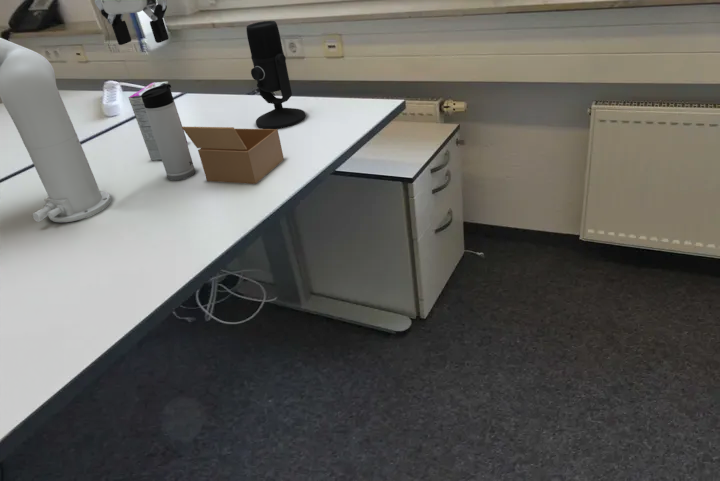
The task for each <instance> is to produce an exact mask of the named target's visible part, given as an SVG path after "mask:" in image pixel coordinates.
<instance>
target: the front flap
mask: <svg viewBox="0 0 720 481" xmlns="http://www.w3.org/2000/svg"><path fill="white" fill-rule="evenodd" d="M182 128H183V130H184V133H185V135H186V136H187V137H188V138H189V139H190V141H191V142H192V144H193V145H194V146H195V147H196V149H201V148H211V149H242V150H247V148H246V146H245V145H244V143H243V141H242V140H241V138H240V137H239V135H238V134H237V132H236V130H235V129H236V128H235V127H234V126H233V127H231V126H230V127H229V126H182Z"/></svg>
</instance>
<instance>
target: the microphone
mask: <svg viewBox="0 0 720 481" xmlns="http://www.w3.org/2000/svg"><path fill="white" fill-rule="evenodd" d="M245 29H246V37H247V42H248V46H249V50H250V56H251V57H250V58H251V61H252V65H253V68H251V70H250V75H251V77H252V79H253V80H254V81H256V87H257V88H258V92H259V95H260V97H261V98H262V99H263V100H264V101H265V102H266V103H268V104H270V105H271V104H272V105H273V106H274V109H272V110H269V111H267V112H265V113H263V114H261V115H260V116H258V117H257V118H256V119H255V125H256V127H257V128H258V129H278V130H280V129H281V130H282V129H286V128H290V127H293V126H296V125H298V124H300V123H302V122H303V121H305V119H306V117H307V115H306V111H305V110H303V109H301V108H292V107H283V104H284V103H286V102H288V100H290V98H291V97H292V96H293V92H292V87H291V82H290V76H289V72H288V67H287V61H286V60H287V58H286V55H285V53H284V50H283V44H282V40H281V34H280V31H279V26H278V23H277V21H276V20H264V21H257V22H253V23H251V24H248V25H246V28H245ZM275 92H280V93H281V98H280V97H276V96H275V95H274V94H273V93H275Z"/></svg>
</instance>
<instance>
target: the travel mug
mask: <svg viewBox="0 0 720 481" xmlns="http://www.w3.org/2000/svg"><path fill="white" fill-rule="evenodd" d="M171 88H172V85H171V84H169V83H168V84H163V85H162V86H157V87H154V88H151V89H149V90H147V91H145V92H144V93H143V94H142V95H141V97H142V100H143V103H144V108H145V110H146V114H147V117H148V120H149V123H150V126H151V129H152V132H153V135H154V138H155V141H156V144H157V147H158V150H159V153H160V156H161V159H162V160H161V161H162V165H163V167H164V170H165V174H166V176H167V179H168V180H170V181H183V180H187V179H188V178H190V177H192V176H193V175H195V173H196V168H195V165H194V162H193V158H192V155H191V151H190V148H189V146H188V143H187V142H188V141H187V142H186V139H187V137H186V138H185V136H186V134H185V135H184V133H185V131H184V132H183V128H182V127H183V124H182V121H181V118H180V115H179V112H178V108H177V106H176V102H175V99H174V97H172V96H173V93H172V90H171ZM173 99H174V100H173ZM176 108H177V109H176ZM179 118H180V119H179ZM180 121H181V122H180ZM181 124H182V125H181Z"/></svg>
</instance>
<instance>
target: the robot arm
mask: <svg viewBox="0 0 720 481" xmlns="http://www.w3.org/2000/svg"><path fill="white" fill-rule="evenodd" d="M167 1H168V0H94V5H95V6H96V7H97V9H98V10H99V11H100V13H101V15H102V17H104V18H105V19H106V20H107V23H108V24H109V25H111V27H112V30H113V34H114V37H115V39H116V42H117V44H118V45H119V46H122V45H125V44H128V43H131V42H132V37H131V34H130V31H129V28H128V25H127V22H126V20H123V18H124V15H125V14H134V13H135V14H136V13H140V12H142V11H143V13H144V14H146V16H147V17H148V18H149V19H150V20H151V21H149V25H150V28H151V31H152V35H153V38H154V42H155V43H157V44H160V43H163V42H165V41H168V40H169V34H168V31H167V28H166V24H165V22H164V18H166V11H167V10H168V5H167V3H168V2H167ZM0 100H1V102H2V105H3V106H4V107H5V110H6V111H7V113H8V115H9V117H10V118H11V120H12V122H13V124H14V126H15V128H16V130H17V132H18V134H19V136H20V139H21V141H22V143H23V145H24V147H25V149H26V150H27V153H28V155H29V157H30V160H31V162H32V164H33V166H34V169H35V170H36V172H37V175H38V177H39V179H40V181H41V184H42V186H43V188H44V190H45V192H46V195H47V197H46V198H44V202H45V204H44V205H43V207H42V208H40V209H37V210H36V211H35V212H32V213H31V216H32V218H33V220H35V222H41V221H42V220H44V219H46V218H47V217H48V219H49V220H50V221H52V222H54V223H71V222H77V221H80V220H84V219H86V218H90V217H91V216H93V215H96V214H98V213H100V212H101V211H103V210H104V209H106V208H107V207H108V206H109V205H110V204H111V202H112V197H111V194H110V193H109V191H106V190H100V188H99V184H98V183H97V180H96V178H95V176H94V173H93V170H92V168H91V166H90V163H89V161H88V158H87V156H86V153H85V151H84V148H83V146H82V144H81V141H80V139H79V136H78V134H77V132H76V129H75V126H74V124H73V122H72V120H71V117H70V115H69V113H68V110H67V107H66V105H65V103H64V101H63V98H62V96H61V94H60V91H59V88H58V86H57V79H56V72H55V69H54V66H53V65H52V63H51V62H50V61H49V60H48V59H47V58H46V57H45V56H44V55H42V54H40V53H39V52H36V51H35V50H32V49H30V48H27V47H25V46H23V45H20V44H17V43H15V42H12V41H9V40H7V39H5V38H3V37H0Z"/></svg>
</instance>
